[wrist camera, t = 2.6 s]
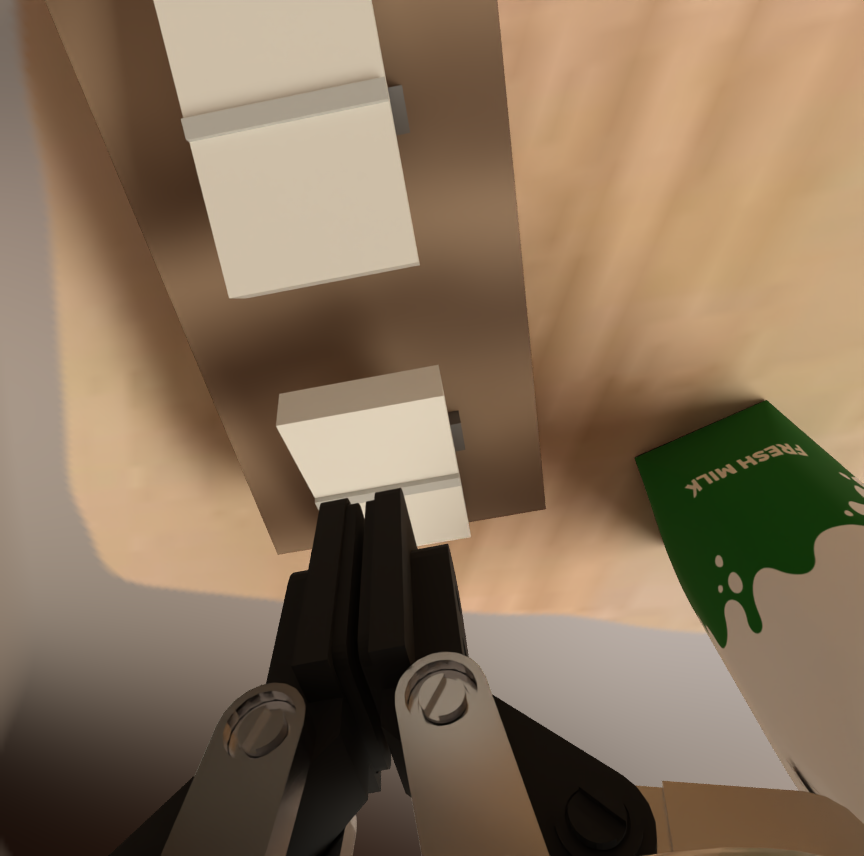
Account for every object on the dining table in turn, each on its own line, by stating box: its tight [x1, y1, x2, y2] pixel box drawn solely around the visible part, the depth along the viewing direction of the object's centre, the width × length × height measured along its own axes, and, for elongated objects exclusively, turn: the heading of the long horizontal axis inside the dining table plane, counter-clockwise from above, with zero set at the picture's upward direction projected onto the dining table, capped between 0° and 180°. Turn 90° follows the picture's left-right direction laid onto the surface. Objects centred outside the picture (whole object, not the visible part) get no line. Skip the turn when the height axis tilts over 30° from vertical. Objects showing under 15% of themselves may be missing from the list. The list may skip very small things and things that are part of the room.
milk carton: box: [635, 400, 864, 824], centre depth 22 cm, size 9×9×20 cm
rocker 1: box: [153, 0, 420, 299], centre depth 15 cm, size 8×5×2 cm, turn 10°
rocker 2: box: [276, 365, 471, 546], centre depth 21 cm, size 8×5×2 cm, turn 10°
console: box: [45, 0, 546, 555], centre depth 19 cm, size 32×12×6 cm, turn 10°
